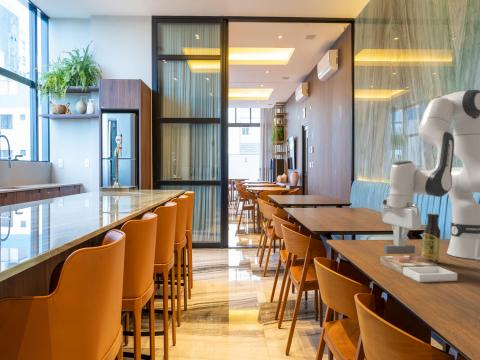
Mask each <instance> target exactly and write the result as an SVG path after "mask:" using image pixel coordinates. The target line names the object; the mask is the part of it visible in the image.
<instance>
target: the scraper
mask: <svg viewBox="0 0 480 360" xmlns="http://www.w3.org/2000/svg"><path fill="white" fill-rule="evenodd" d="M402 231H403V230H402V227H400V226H396V225H394V232H393V244H387V245H385V244H384V245H383V254H386V255H399V254H400V255H402V254H403V255H405V254H406V255H409V254H413V255H414V254H416V246H415V245H413V244H406V243H407V242H406V239H407V238H406V239H402V238H400V234H402Z"/></svg>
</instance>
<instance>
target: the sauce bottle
mask: <svg viewBox="0 0 480 360" xmlns="http://www.w3.org/2000/svg"><path fill="white" fill-rule="evenodd" d="M426 215H427V221H426V225H425V228H424V230H423V233H422V246H421V247H422V248H421V256H423V257H425V258H426V260H427V261H429V262H432V263H435V264H438V263H439V260H440V250H441V248H440V247H441V229H440V228H439V226H438V225H439V218H440V217H439V213H435V212H433V213H432V212H428V213H427V214H426Z"/></svg>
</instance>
